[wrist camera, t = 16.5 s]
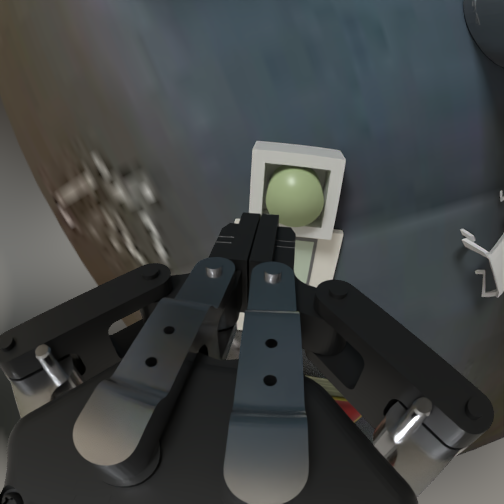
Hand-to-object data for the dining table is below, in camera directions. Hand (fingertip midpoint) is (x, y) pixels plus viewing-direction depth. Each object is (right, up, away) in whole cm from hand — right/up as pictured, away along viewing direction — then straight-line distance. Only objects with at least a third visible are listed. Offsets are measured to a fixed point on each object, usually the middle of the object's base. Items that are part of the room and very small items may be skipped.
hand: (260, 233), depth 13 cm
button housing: (+3, +5, +13) cm, 15 cm away
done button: (+3, +5, +12) cm, 14 cm away
